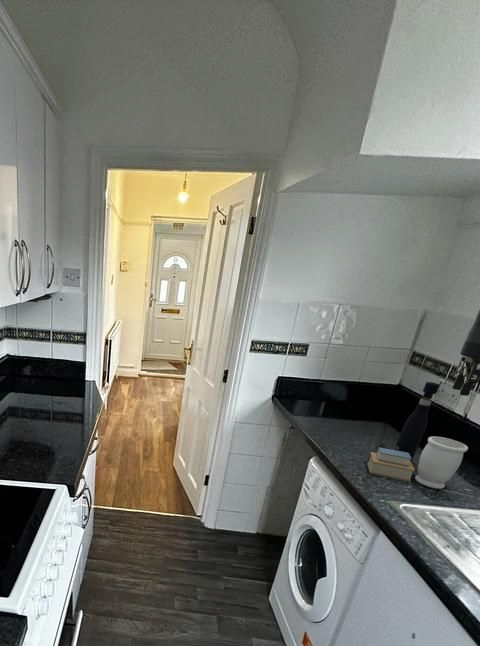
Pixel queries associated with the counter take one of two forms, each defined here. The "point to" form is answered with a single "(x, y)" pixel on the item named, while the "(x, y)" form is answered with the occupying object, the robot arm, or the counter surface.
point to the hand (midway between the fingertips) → (459, 392)
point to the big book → (389, 468)
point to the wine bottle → (416, 422)
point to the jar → (439, 461)
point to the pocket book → (393, 456)
